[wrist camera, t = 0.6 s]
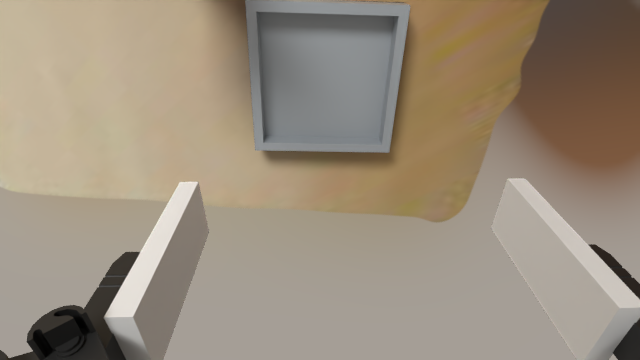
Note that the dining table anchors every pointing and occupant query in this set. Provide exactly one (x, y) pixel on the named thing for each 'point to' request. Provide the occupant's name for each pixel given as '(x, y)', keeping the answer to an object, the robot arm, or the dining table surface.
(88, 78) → the dining table surface
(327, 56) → the tray
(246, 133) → the dining table surface
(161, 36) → the dining table surface
